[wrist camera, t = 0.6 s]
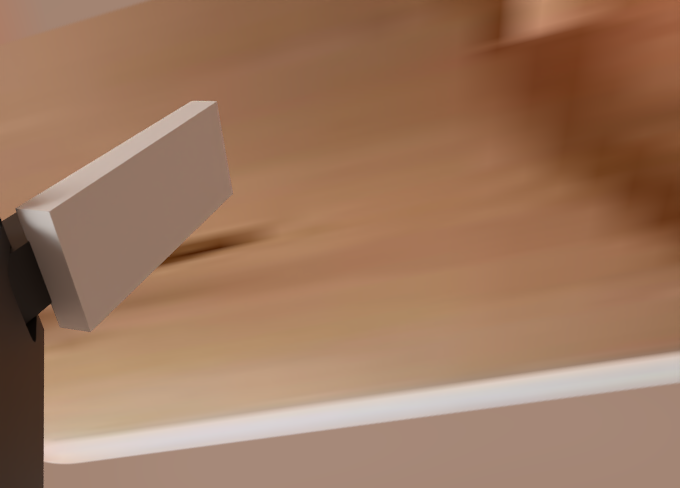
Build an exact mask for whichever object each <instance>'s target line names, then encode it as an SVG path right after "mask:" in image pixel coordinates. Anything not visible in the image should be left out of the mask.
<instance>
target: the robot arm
mask: <svg viewBox="0 0 680 488" xmlns="http://www.w3.org/2000/svg"><path fill="white" fill-rule="evenodd" d="M232 194H233V191H232V186H231V180H230V174H229V168H228V163H227V157H226V151H225V146H224V140H223V134H222V129H221V123H220V117H219V111H218V106H217V101H191V102H189V103H187V104H186V105H184V106H183V107H181V108H179V109H178V110H176V111H174V112H173V113H171V114H169V115H168V116H166V117H165V118H163V119H161V120H160V121H158V122H156V123H155V124H153V125H151V126H150V127H148V128H147V129H145V130H143V131H142V132H140V133H138V134H137V135H135V136H133V137H132V138H130V139H129V140H127V141H125V142H124V143H122V144H120V145H119V146H117V147H115V148H114V149H112V150H111V151H109V152H107V153H106V154H104V155H102V156H101V157H99V158H97V159H96V160H94V161H93V162H91V163H89V164H88V165H86V166H84V167H83V168H81V169H79V170H78V171H76V172H74V173H73V174H71V175H70V176H68V177H66V178H65V179H63V180H61V181H60V182H58V183H56V184H55V185H53V186H52V187H50V188H48V189H47V190H45V191H43V192H42V193H40V194H38V195H37V196H35V197H34V198H32V199H30V200H29V201H27V202H25V203H24V204H22V205H20V206H19V207H17V208H16V213H15V214H13V215H11V216H10V217H8V218H7V219H5V220H3V221H1V219H0V488H43V456H44V328H43V326H42V323H41V321H40V318H39V316H38V314H39V313H40V312H41V311H42V310H44V309H45V308H46V307H47V306H48V305H49V304H51V305H52V308H53V310H54V313H55V316H56V318H57V321H58V324H59V326H60V327H61V328H68V329H74V330H81V331H87V332H91V331H92V330H93V329H94V328H95V327H96V326H97V325H98V324H99V323H101V322H102V321H103V320H104V319H105V318H106V317H107V316H108V315H109V314H110V313H111V312H112V311H113V310H114V309H115V308H116V307H117V306H118V305H119V304H120V303H121V302H122V301H123V300H124V299H125V298H126V297H127V296H128V295H129V294H130V293H131V292H132V291H133V290H134V289H135V288H136V287H138V286H139V285H140V284H141V283H142V282H143V281H144V280H145V279H146V278H147V277H148V276H149V275H150V274H151V273H152V272H153V271H154V270H155V269H156V268H157V267H158V266H159V265H160V264H161V263H162V262H163V261H164V260H165V259H166V258H167V257H168V256H169V255H170V254H171V253H172V252H173V251H175V250H176V249H177V248H178V247H179V246H180V245H181V244H182V243H183V242H184V241H185V240H186V239H187V238H188V237H189V236H190V235H191V234H192V233H193V232H194V231H195V230H196V229H197V228H198V227H199V226H200V225H201V224H202V223H203V222H204V221H205V220H206V219H207V218H208V217H209V216H210V215H212V214H213V213H214V212H215V211H216V210H217V209H218V208H219V207H220V206H221V205H222V204H223V203H224V202H225V201H226V200H227V199H228V198H229V197H230V196H231V195H232Z"/></svg>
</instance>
